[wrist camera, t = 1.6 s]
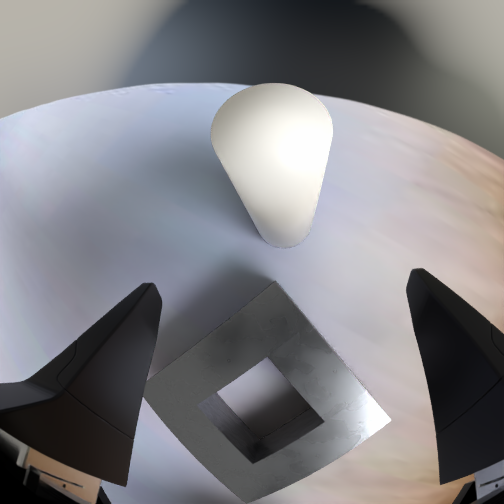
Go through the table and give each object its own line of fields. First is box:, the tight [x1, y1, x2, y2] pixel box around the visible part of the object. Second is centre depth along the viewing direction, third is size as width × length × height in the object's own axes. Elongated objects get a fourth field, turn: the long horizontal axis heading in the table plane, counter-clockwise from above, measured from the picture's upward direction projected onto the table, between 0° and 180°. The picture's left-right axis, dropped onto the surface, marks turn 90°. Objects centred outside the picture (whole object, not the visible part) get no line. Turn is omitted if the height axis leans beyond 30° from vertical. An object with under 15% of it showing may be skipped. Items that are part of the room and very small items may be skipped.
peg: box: [211, 83, 333, 248], centre depth 15 cm, size 4×4×13 cm
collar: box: [143, 281, 391, 503], centre depth 18 cm, size 13×13×4 cm
